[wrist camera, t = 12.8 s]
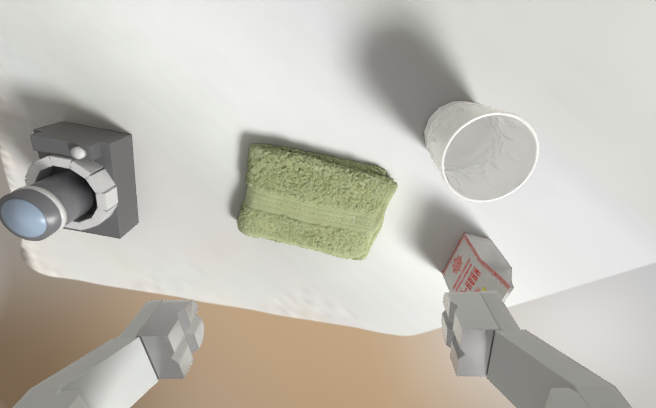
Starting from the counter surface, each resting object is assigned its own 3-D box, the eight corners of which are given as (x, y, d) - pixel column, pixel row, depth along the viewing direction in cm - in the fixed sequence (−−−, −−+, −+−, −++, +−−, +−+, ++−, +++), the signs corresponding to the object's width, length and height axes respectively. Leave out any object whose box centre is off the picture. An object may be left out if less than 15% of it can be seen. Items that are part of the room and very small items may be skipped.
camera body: (60, 121, 39) (12, 134, 33) (133, 135, 39) (98, 150, 33) (75, 211, 44) (36, 235, 38) (140, 223, 44) (110, 248, 39)
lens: (62, 210, 39) (7, 241, 33) (47, 168, 37) (-15, 192, 30) (106, 211, 39) (59, 243, 32) (93, 168, 37) (41, 193, 30)
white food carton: (491, 239, 43) (529, 292, 34) (467, 280, 46) (497, 338, 37) (464, 232, 42) (495, 283, 33) (442, 273, 45) (465, 330, 36)
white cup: (413, 105, 36) (435, 125, 27) (489, 85, 35) (539, 100, 26) (423, 172, 39) (446, 210, 30) (493, 156, 38) (539, 191, 29)
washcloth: (367, 257, 45) (368, 272, 42) (239, 226, 44) (231, 239, 41) (399, 169, 40) (403, 179, 37) (253, 131, 39) (246, 138, 36)
